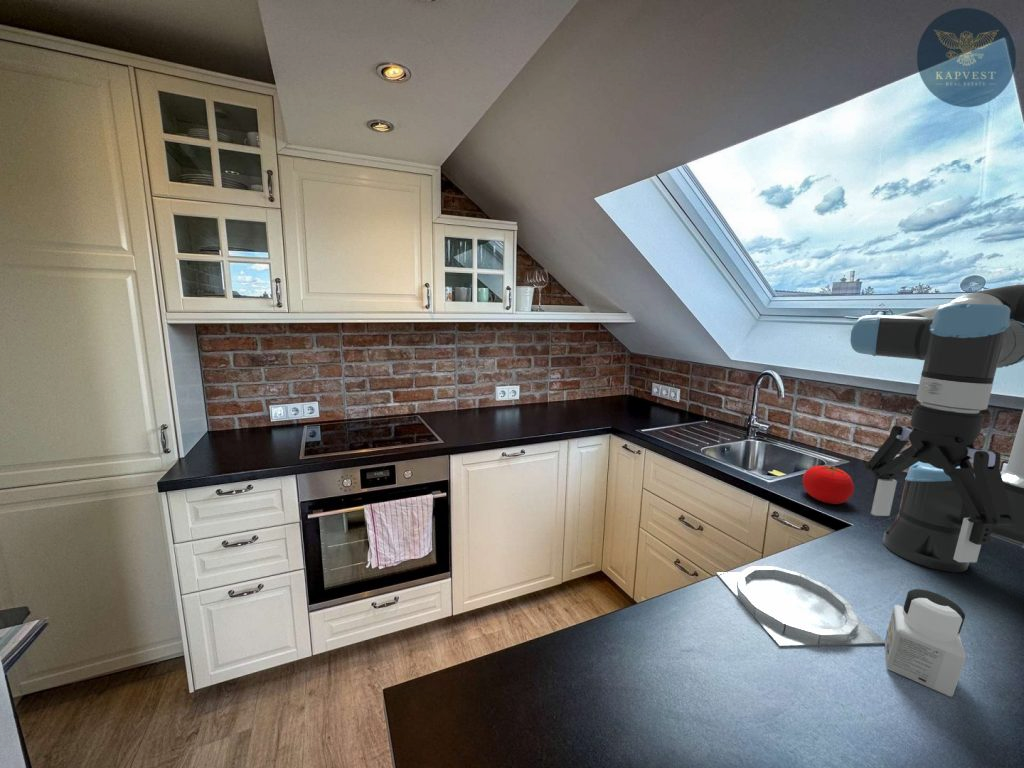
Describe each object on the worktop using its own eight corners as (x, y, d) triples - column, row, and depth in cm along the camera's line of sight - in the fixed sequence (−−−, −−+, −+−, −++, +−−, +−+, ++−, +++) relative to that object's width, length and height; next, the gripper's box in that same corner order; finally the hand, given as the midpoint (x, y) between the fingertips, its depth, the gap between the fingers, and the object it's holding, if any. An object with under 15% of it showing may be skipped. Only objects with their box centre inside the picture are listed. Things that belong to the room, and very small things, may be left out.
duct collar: (802, 573, 94) (803, 565, 93) (886, 644, 74) (889, 634, 74) (716, 574, 92) (717, 565, 92) (779, 647, 73) (781, 637, 72)
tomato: (821, 509, 125) (828, 474, 123) (792, 490, 138) (797, 458, 136) (860, 510, 125) (867, 475, 123) (827, 491, 138) (833, 459, 136)
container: (884, 640, 74) (902, 576, 71) (945, 665, 70) (967, 598, 67) (885, 669, 69) (905, 601, 66) (952, 699, 64) (977, 627, 61)
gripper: (855, 389, 76) (834, 499, 79) (1028, 430, 51) (985, 586, 55) (895, 391, 76) (872, 500, 80) (1085, 432, 51) (1039, 586, 55)
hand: (918, 535), depth 67 cm, fingers open, 13 cm apart
